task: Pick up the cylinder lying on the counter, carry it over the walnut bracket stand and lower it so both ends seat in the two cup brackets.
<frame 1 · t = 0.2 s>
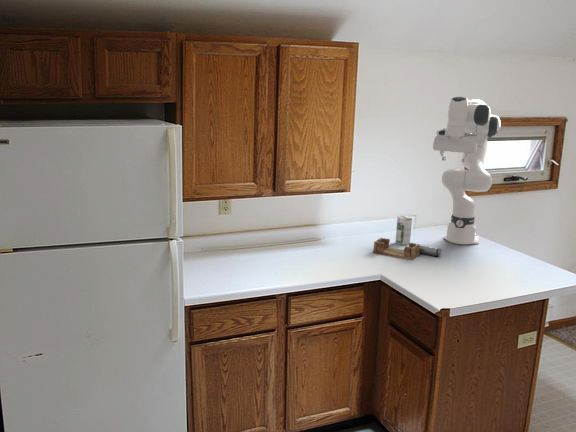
hand: (453, 161, 276), 47 cm above the worktop, tool pointing down, fingers open, 8 cm apart
syrup box: (402, 243, 307), on the worktop
cradle: (396, 253, 288), on the worktop
cylinder: (425, 254, 289), on the worktop
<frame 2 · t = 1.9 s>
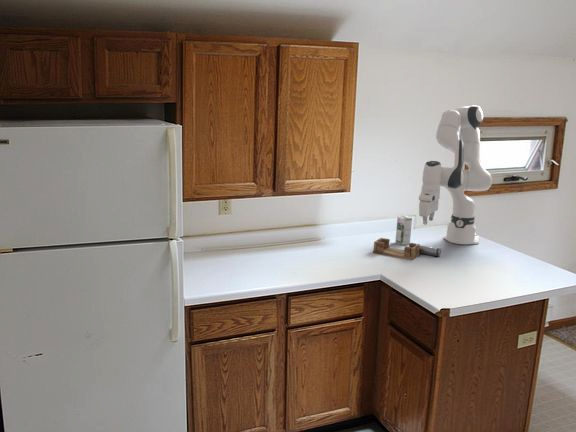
hand: (428, 222, 285), 16 cm above the worktop, tool pointing down, fingers open, 8 cm apart
nothing on the worktop moved.
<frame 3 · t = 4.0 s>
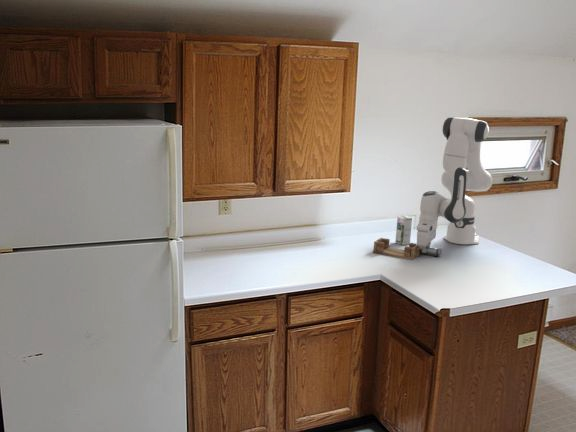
hand: (425, 250, 289), 2 cm above the worktop, tool pointing down, fingers closed on cylinder, 4 cm apart
cylinder: (425, 254, 289), on the worktop, touching gripper
everything else where it was.
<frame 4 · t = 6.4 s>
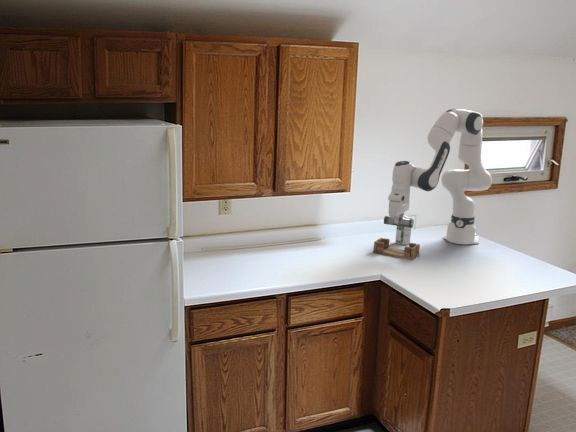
hand: (398, 222, 284), 16 cm above the worktop, tool pointing down, fingers closed on cylinder, 4 cm apart
cylinder: (398, 225, 285), point 15 cm above the worktop, touching gripper
everything else where it was.
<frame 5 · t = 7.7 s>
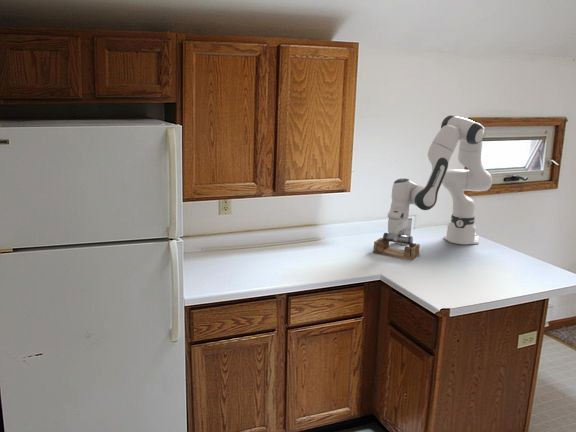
hand: (397, 239, 286), 8 cm above the worktop, tool pointing down, fingers closed on cylinder, 4 cm apart
cylinder: (397, 242, 286), point 6 cm above the worktop, touching gripper
everything else where it was.
when the fingers open (4 cm above the worktop, at t = 8.8 s): cylinder drops 1 cm, resting on cradle.
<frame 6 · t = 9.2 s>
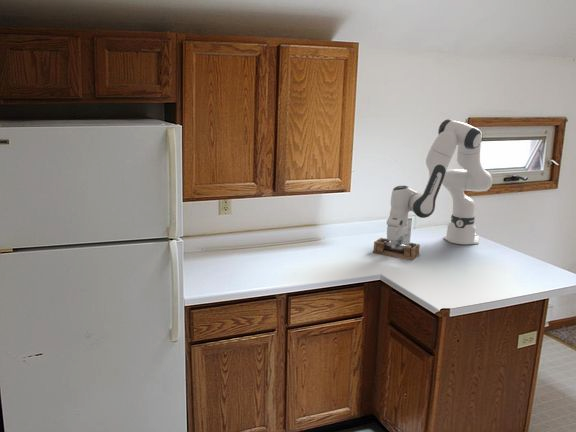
hand: (396, 245, 287), 4 cm above the worktop, tool pointing down, fingers open, 8 cm apart
cylinder: (396, 251, 288), point 1 cm above the worktop, tilted 6°, touching cradle
everything else where it was.
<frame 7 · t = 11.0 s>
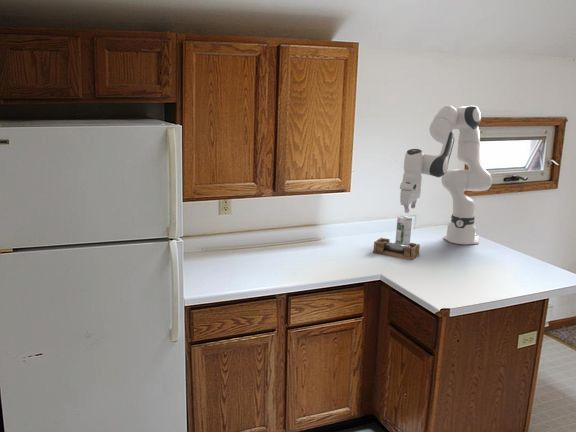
hand: (409, 210, 285), 22 cm above the worktop, tool pointing down, fingers open, 8 cm apart
nothing on the worktop moved.
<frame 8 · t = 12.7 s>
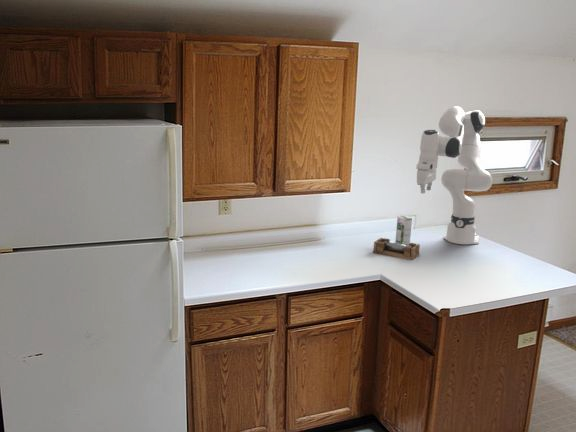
hand: (425, 191, 285), 31 cm above the worktop, tool pointing down, fingers open, 8 cm apart
nothing on the worktop moved.
at the end: cylinder 0.2 cm off-centre on the cradle, point 1.2 cm above the cradle's base; the gripper is holding nothing; cylinder touching cradle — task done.
